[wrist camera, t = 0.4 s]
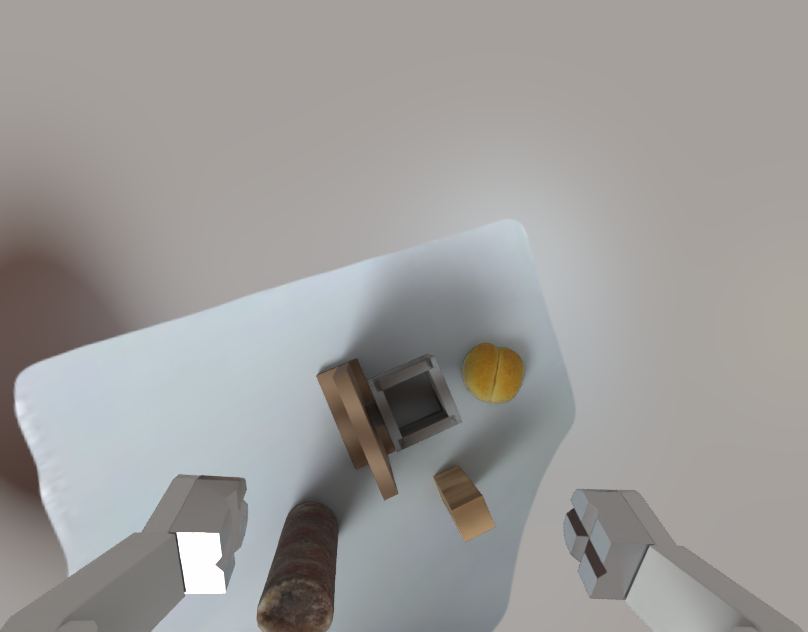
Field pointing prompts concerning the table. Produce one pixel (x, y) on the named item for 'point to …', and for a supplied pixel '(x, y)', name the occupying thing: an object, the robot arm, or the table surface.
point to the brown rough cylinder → (302, 573)
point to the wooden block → (464, 503)
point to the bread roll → (493, 373)
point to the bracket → (388, 411)
